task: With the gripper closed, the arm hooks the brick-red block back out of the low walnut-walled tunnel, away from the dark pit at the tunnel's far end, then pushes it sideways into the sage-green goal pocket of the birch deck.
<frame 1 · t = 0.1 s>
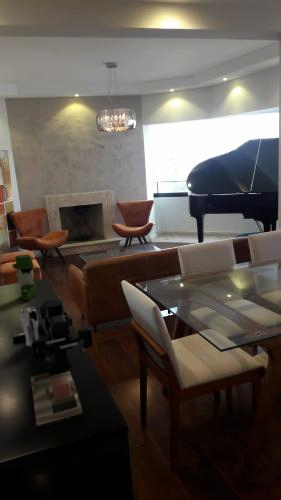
hand: (66, 355, 114), 16 cm above the table, tool horizontal, fingers open, 9 cm apart
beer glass: (33, 343, 162), on the table
vaping device: (47, 351, 153), on the table, touching arm
deck: (55, 399, 120), on the table
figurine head: (28, 296, 227), on the table
red block: (61, 392, 119), point 2 cm above the table, touching deck
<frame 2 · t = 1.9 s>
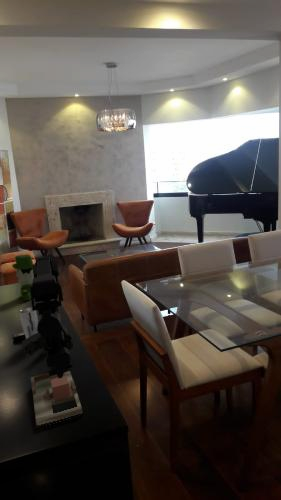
hand: (59, 373, 109), 13 cm above the table, tool pointing down, fingers open, 5 cm apart
vaping device: (47, 351, 153), on the table
everything else where it was.
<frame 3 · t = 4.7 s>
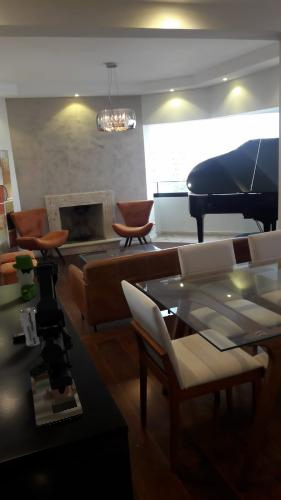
hand: (61, 393, 116), 3 cm above the table, tool pointing down, fingers closed
red block: (60, 390, 121), point 2 cm above the table, touching gripper
everything else where it was.
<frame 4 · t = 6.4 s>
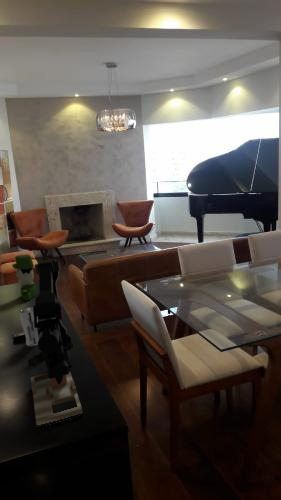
hand: (59, 383, 122), 4 cm above the table, tool pointing down, fingers closed
red block: (58, 381, 126), point 2 cm above the table, touching deck, gripper
everything else where it was.
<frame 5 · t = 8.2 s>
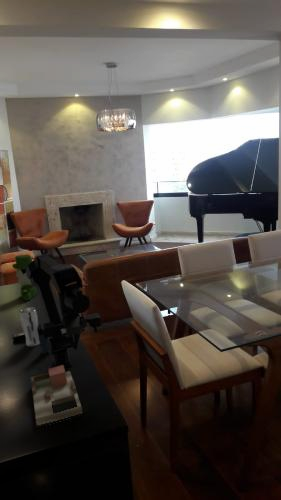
hand: (75, 348, 126), 12 cm above the table, tool pointing down, fingers closed
red block: (58, 381, 126), point 2 cm above the table, touching deck
everything else where it was.
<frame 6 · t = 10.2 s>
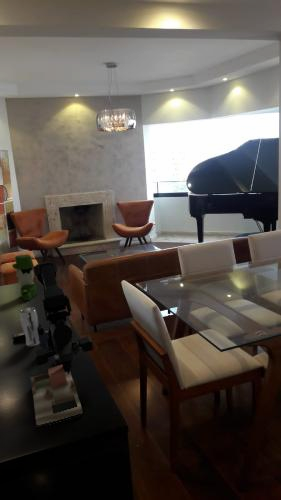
hand: (68, 373, 127), 4 cm above the table, tool pointing down, fingers closed
red block: (58, 380, 126), point 2 cm above the table, touching deck, gripper
everything else where it was.
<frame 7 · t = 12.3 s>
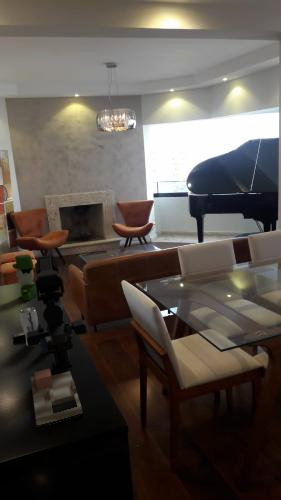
hand: (60, 356, 125), 10 cm above the table, tool pointing down, fingers closed
red block: (44, 384, 125), point 2 cm above the table, touching deck
everything else where it was.
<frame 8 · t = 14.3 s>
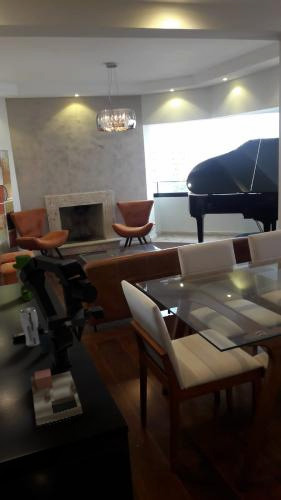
hand: (79, 341, 129), 13 cm above the table, tool pointing down, fingers closed
nothing on the table moved.
at the end: red block 0.2 cm from the target spot, point 2.0 cm above the table; red block tilted 0°; the gripper is holding nothing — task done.
